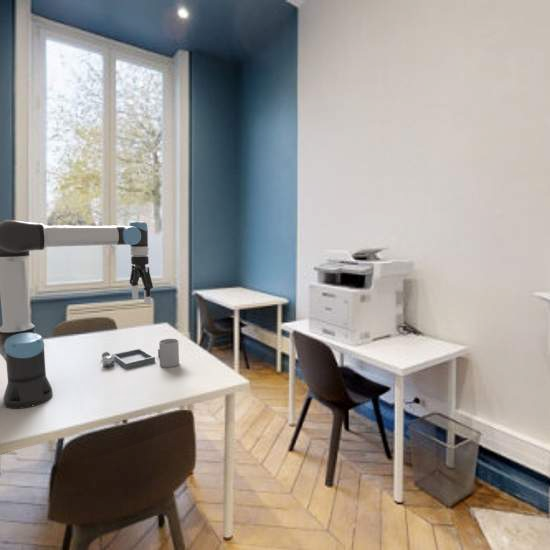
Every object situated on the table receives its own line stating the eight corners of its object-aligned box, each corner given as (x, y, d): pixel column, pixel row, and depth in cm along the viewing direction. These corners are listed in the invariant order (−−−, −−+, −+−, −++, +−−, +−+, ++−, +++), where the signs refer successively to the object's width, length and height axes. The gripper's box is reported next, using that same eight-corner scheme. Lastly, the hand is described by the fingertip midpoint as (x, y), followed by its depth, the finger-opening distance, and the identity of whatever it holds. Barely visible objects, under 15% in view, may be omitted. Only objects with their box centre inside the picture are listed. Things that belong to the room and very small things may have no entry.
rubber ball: (103, 361, 182) (103, 353, 182) (100, 359, 185) (100, 351, 184) (111, 359, 185) (111, 352, 184) (108, 357, 187) (108, 350, 187)
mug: (180, 366, 176) (179, 343, 175) (160, 368, 173) (159, 344, 172) (177, 358, 188) (176, 335, 186) (158, 360, 185) (157, 337, 183)
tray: (125, 369, 173) (125, 363, 173) (112, 359, 185) (112, 354, 185) (155, 361, 182) (154, 357, 182) (140, 353, 194) (139, 348, 194)
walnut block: (162, 359, 186) (161, 351, 185) (158, 357, 189) (158, 349, 188) (169, 357, 188) (169, 349, 188) (166, 355, 191) (165, 347, 191)
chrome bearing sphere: (104, 368, 173) (104, 359, 173) (101, 365, 177) (100, 357, 177) (116, 365, 177) (115, 357, 176) (112, 363, 180) (111, 354, 180)
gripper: (159, 257, 172) (161, 304, 175) (136, 253, 190) (138, 296, 193) (143, 258, 167) (145, 306, 170) (121, 254, 185) (123, 298, 188)
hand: (141, 301), depth 181 cm, fingers open, 13 cm apart
